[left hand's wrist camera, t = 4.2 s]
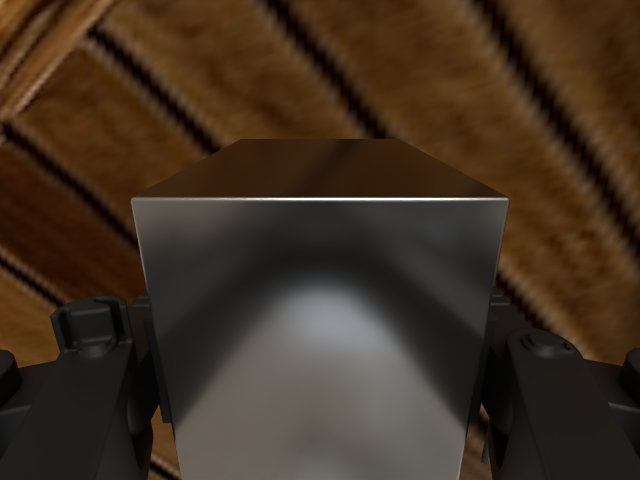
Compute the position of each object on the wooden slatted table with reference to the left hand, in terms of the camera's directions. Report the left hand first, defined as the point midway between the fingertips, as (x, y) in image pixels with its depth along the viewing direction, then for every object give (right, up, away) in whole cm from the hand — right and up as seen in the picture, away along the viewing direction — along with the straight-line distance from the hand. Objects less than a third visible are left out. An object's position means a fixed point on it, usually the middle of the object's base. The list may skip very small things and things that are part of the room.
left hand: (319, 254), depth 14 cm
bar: (0, -6, +3) cm, 7 cm away
